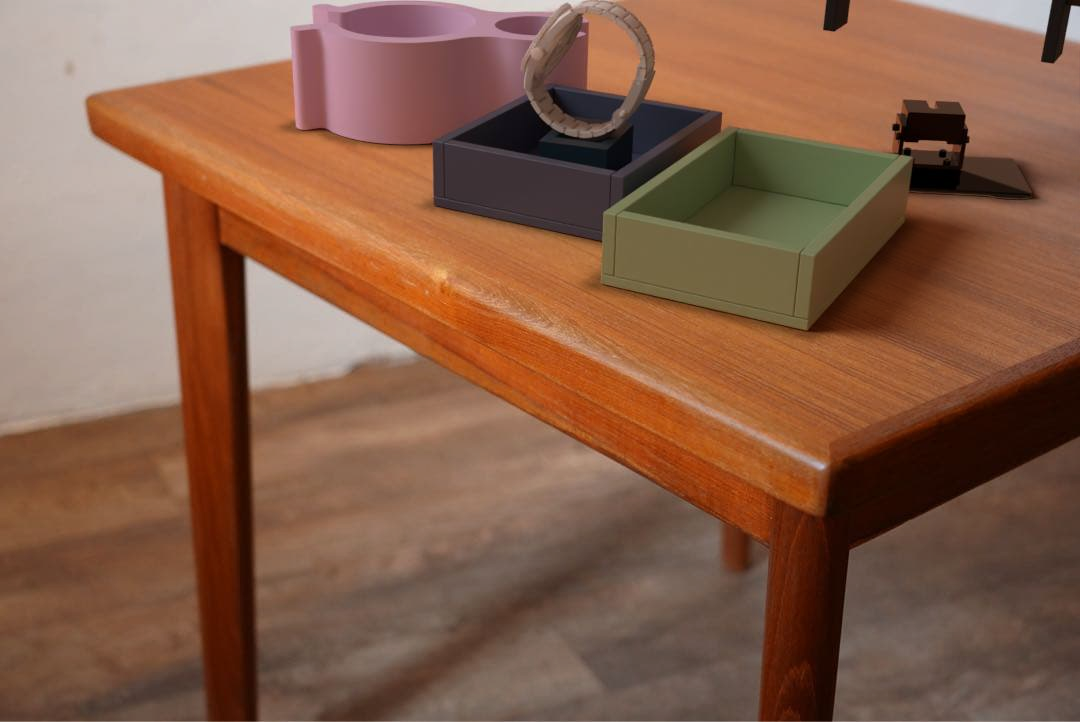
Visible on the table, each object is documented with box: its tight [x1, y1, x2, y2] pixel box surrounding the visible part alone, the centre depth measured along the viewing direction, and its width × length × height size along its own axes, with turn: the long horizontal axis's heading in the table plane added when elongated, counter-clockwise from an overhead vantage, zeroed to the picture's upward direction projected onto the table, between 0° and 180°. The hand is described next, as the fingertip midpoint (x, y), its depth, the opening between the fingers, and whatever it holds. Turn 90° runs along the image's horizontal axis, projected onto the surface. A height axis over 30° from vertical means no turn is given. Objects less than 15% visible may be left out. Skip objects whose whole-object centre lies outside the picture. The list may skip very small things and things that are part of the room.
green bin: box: [600, 125, 913, 331], centre depth 81 cm, size 12×18×4 cm, turn 151°
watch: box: [520, 0, 656, 172], centre depth 88 cm, size 6×8×11 cm
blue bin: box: [432, 83, 723, 242], centre depth 90 cm, size 13×15×4 cm
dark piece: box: [880, 99, 1033, 200], centre depth 93 cm, size 12×7×5 cm, turn 84°
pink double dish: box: [289, 0, 590, 145], centre depth 102 cm, size 20×12×7 cm, turn 85°
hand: (939, 42), depth 90 cm, fingers open, 13 cm apart
